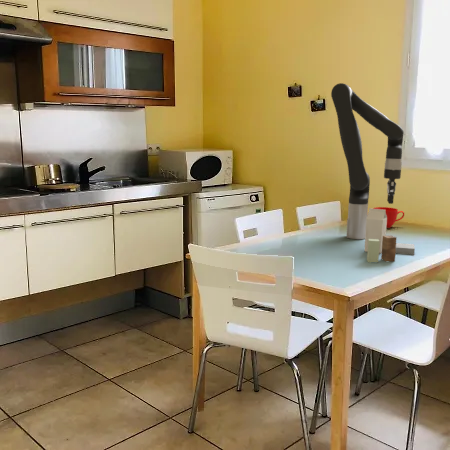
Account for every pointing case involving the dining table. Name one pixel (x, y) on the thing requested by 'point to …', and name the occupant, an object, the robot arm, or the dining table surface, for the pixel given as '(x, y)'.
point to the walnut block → (388, 248)
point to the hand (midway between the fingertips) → (390, 202)
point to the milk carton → (375, 226)
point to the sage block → (373, 250)
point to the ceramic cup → (391, 215)
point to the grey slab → (405, 248)
